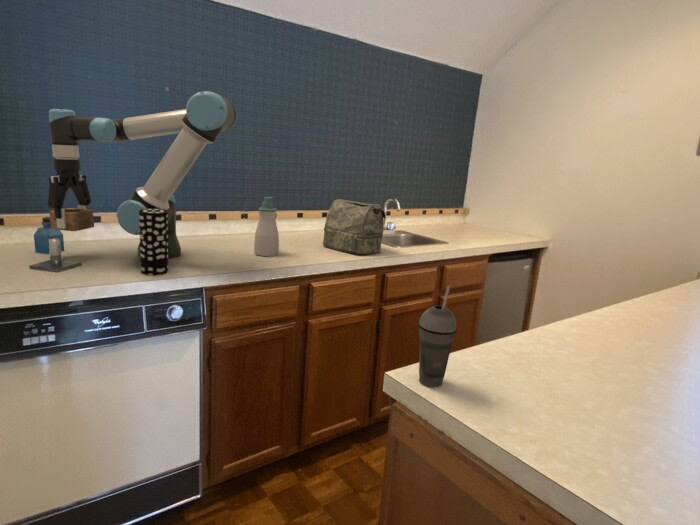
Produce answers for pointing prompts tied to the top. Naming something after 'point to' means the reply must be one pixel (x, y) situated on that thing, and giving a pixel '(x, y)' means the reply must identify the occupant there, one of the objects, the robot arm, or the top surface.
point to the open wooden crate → (74, 219)
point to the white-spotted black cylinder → (153, 241)
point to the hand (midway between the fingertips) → (72, 225)
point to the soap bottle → (267, 230)
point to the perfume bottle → (46, 237)
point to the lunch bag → (354, 227)
